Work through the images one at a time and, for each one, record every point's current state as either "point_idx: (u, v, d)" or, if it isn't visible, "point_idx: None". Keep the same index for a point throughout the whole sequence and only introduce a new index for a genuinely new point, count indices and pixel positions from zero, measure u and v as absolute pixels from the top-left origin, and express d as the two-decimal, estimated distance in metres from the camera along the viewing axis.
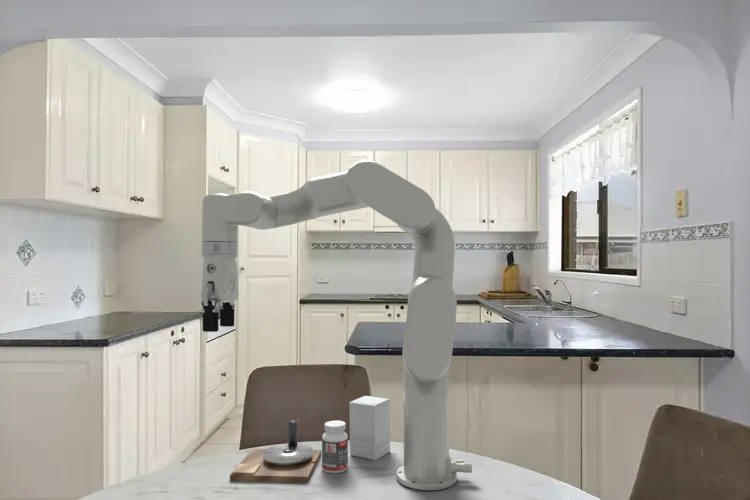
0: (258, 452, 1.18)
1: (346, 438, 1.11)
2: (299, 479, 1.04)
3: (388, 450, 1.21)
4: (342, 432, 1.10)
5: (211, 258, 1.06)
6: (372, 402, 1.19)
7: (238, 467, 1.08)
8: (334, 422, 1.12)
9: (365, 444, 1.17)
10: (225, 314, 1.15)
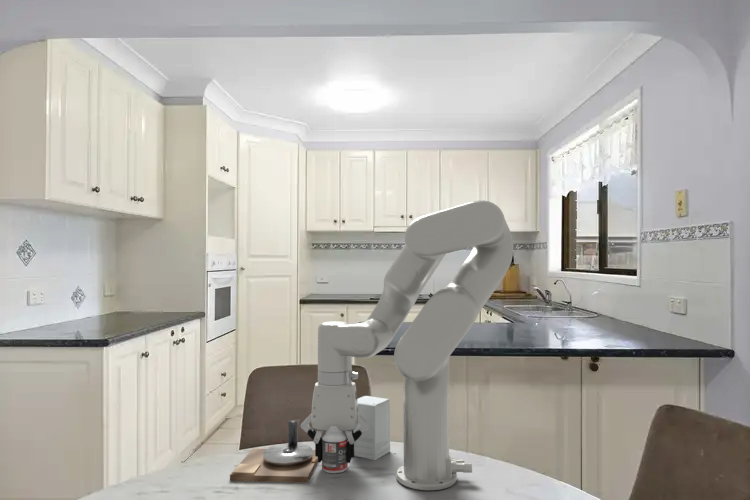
0: (258, 452, 1.18)
1: (346, 438, 1.11)
2: (299, 479, 1.04)
3: (388, 450, 1.21)
4: (342, 432, 1.10)
5: (354, 386, 1.11)
6: (372, 402, 1.19)
7: (238, 467, 1.08)
8: None
9: (365, 444, 1.17)
10: None
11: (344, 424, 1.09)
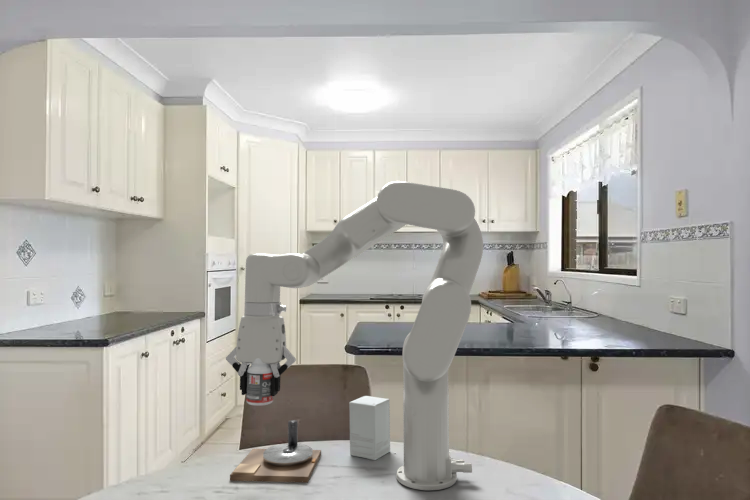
0: (258, 452, 1.18)
1: (271, 371, 1.08)
2: (299, 479, 1.04)
3: (388, 450, 1.21)
4: (267, 365, 1.08)
5: (281, 319, 1.09)
6: (372, 402, 1.19)
7: (238, 467, 1.08)
8: None
9: (365, 444, 1.17)
10: None
11: (269, 357, 1.07)
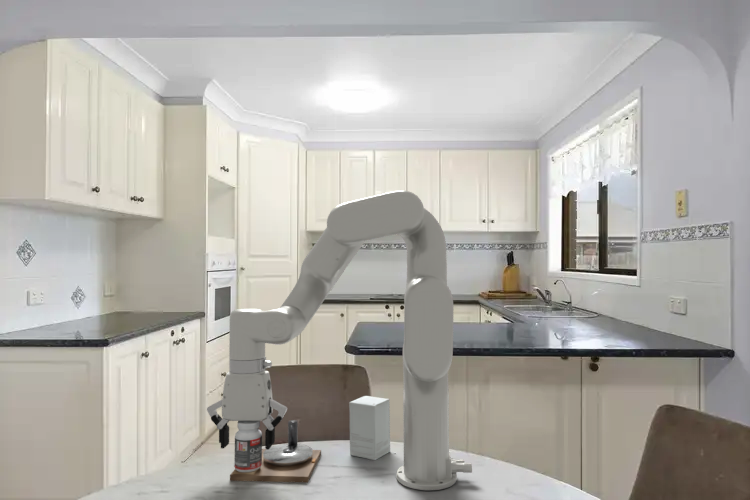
0: None
1: (259, 436, 1.07)
2: (299, 479, 1.04)
3: (388, 450, 1.21)
4: (255, 430, 1.07)
5: (267, 375, 1.08)
6: (372, 402, 1.19)
7: None
8: None
9: (365, 444, 1.17)
10: (226, 433, 1.08)
11: (255, 414, 1.06)
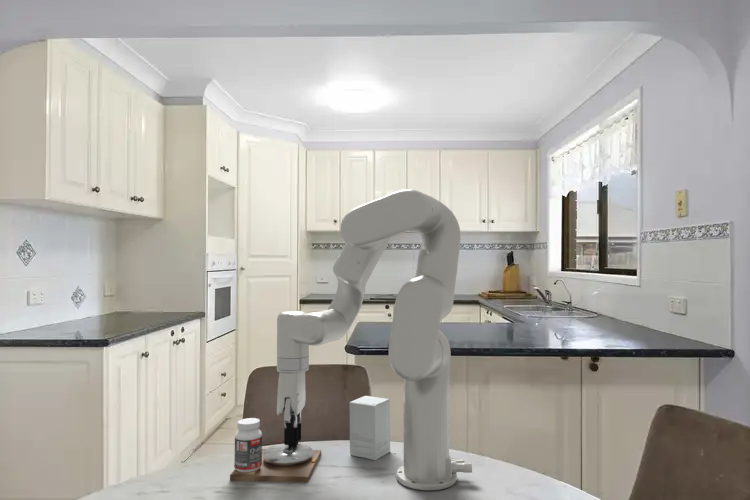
0: None
1: (259, 436, 1.07)
2: (299, 479, 1.04)
3: (388, 450, 1.21)
4: (255, 430, 1.07)
5: None
6: (372, 402, 1.19)
7: None
8: (249, 420, 1.09)
9: (365, 444, 1.17)
10: None
11: (304, 402, 1.21)
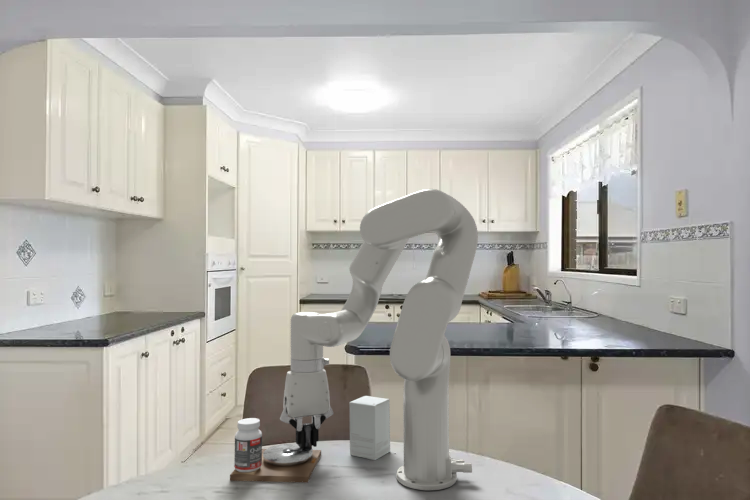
0: None
1: (259, 436, 1.07)
2: (299, 479, 1.04)
3: (388, 450, 1.21)
4: (255, 430, 1.07)
5: None
6: (372, 402, 1.19)
7: None
8: (249, 420, 1.09)
9: (365, 444, 1.17)
10: None
11: (320, 408, 1.16)
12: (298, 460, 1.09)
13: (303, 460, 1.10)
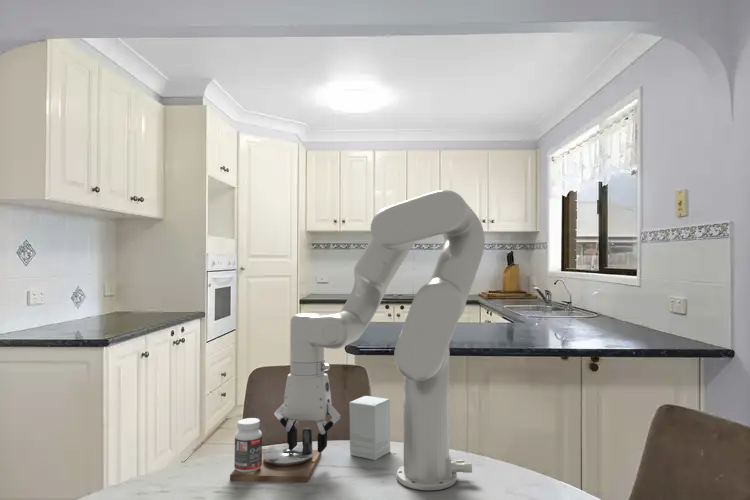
0: None
1: (259, 436, 1.07)
2: (299, 479, 1.04)
3: (388, 450, 1.21)
4: (255, 430, 1.07)
5: (325, 377, 1.12)
6: (372, 402, 1.19)
7: None
8: (249, 420, 1.09)
9: (365, 444, 1.17)
10: (294, 436, 1.14)
11: (314, 414, 1.11)
12: (280, 462, 1.09)
13: (286, 463, 1.09)
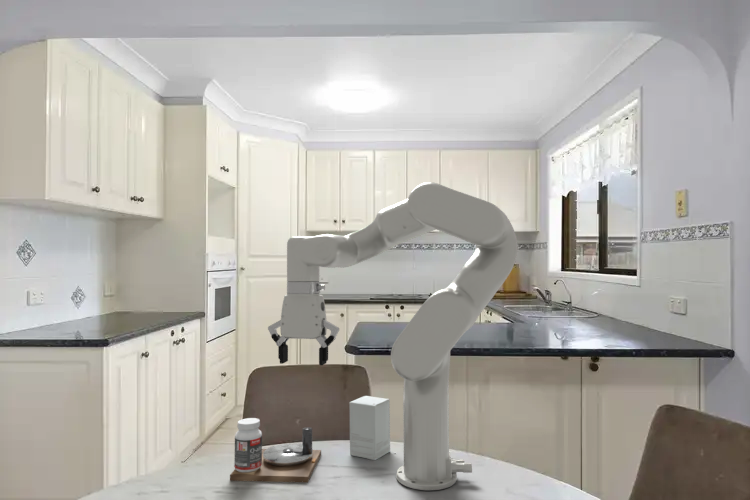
0: None
1: (259, 436, 1.07)
2: (299, 479, 1.04)
3: (388, 450, 1.21)
4: (255, 430, 1.07)
5: (321, 297, 1.16)
6: (372, 402, 1.19)
7: None
8: (248, 420, 1.09)
9: (365, 444, 1.17)
10: (284, 351, 1.18)
11: (310, 332, 1.14)
12: (280, 462, 1.09)
13: (286, 463, 1.09)
